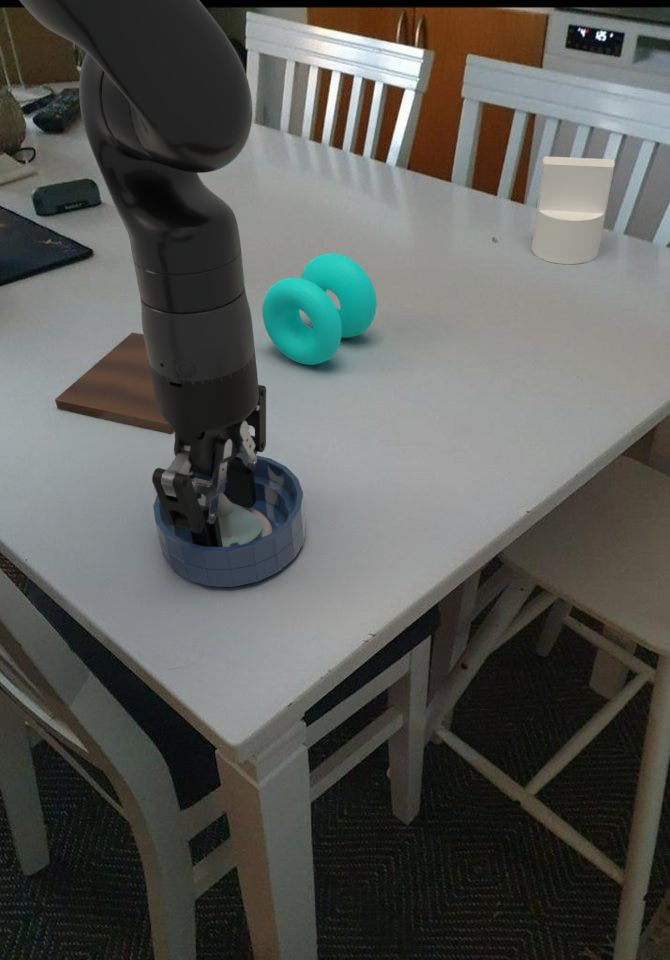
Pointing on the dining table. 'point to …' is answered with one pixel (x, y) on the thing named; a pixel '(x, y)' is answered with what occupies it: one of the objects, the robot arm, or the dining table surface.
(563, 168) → the cylinder with rectangular tab
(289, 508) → the bowl
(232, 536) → the pacifier
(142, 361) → the board
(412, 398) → the dining table surface
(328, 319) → the donuts
